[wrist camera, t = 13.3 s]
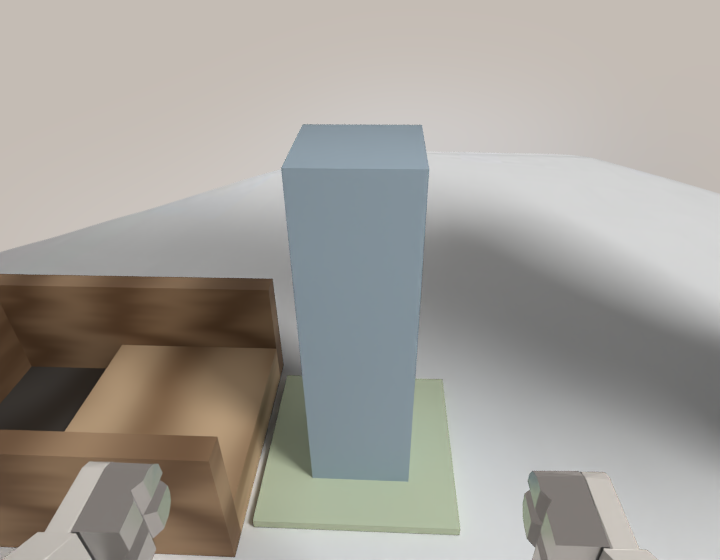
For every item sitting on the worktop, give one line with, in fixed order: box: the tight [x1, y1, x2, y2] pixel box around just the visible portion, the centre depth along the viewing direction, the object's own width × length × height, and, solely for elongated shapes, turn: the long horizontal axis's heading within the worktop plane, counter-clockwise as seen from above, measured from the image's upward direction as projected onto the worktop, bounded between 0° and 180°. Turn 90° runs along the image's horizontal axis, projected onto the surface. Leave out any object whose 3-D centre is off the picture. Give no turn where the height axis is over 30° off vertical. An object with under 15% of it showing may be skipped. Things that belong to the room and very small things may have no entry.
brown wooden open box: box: [0, 274, 283, 557], centre depth 28 cm, size 18×13×7 cm
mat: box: [253, 375, 460, 535], centre depth 29 cm, size 10×10×1 cm
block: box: [281, 124, 429, 482], centre depth 24 cm, size 5×5×17 cm
